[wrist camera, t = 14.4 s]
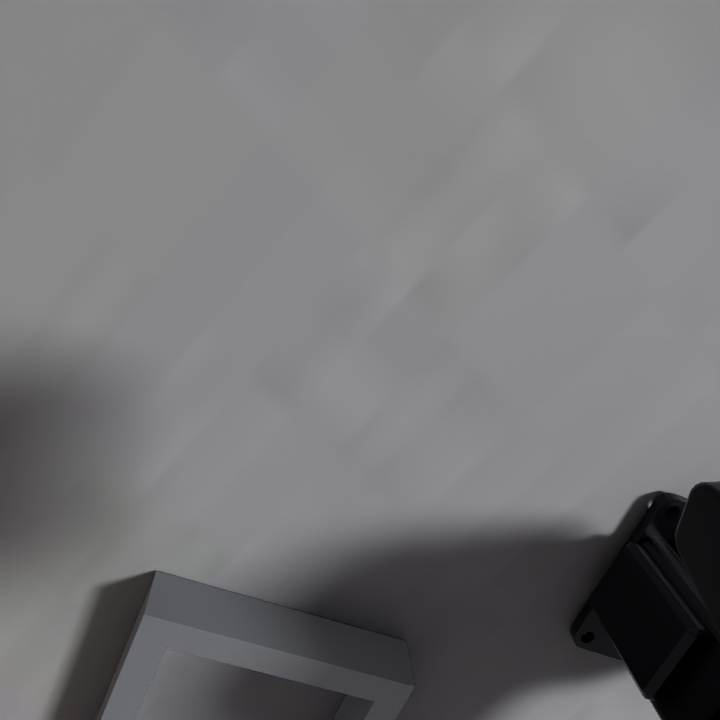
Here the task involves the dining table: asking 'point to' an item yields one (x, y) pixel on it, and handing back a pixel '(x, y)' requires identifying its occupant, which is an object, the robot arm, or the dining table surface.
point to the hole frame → (259, 649)
